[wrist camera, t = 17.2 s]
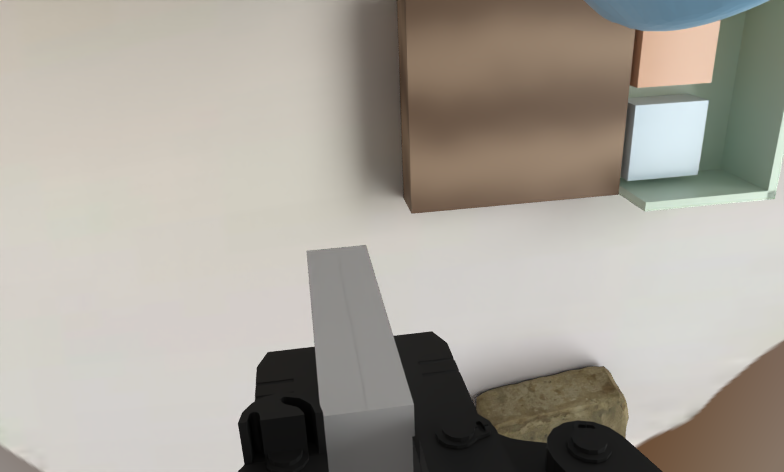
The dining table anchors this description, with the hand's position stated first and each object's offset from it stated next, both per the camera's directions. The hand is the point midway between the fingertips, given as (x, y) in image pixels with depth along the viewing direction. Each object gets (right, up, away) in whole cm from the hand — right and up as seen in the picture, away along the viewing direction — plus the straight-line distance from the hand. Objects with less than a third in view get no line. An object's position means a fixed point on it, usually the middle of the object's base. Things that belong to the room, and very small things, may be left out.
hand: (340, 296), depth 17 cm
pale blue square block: (+19, +9, +28) cm, 35 cm away
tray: (+21, +12, +27) cm, 36 cm away
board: (+9, +11, +26) cm, 29 cm away
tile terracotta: (+19, +14, +25) cm, 35 cm away
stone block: (+13, -12, +37) cm, 41 cm away
